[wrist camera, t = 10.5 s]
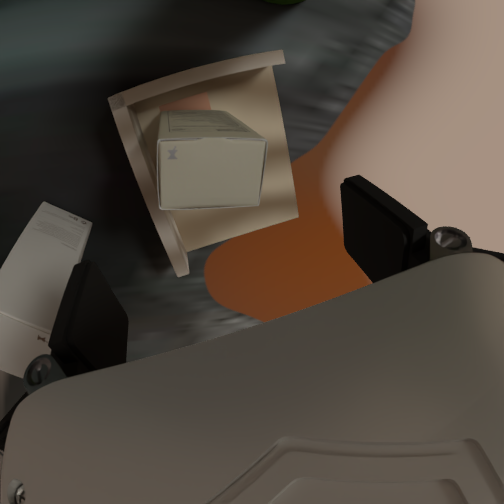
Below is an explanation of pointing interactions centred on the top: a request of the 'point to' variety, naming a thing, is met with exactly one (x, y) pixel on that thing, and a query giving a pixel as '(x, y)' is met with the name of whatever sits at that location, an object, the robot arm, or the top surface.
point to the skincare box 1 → (37, 284)
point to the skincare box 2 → (208, 161)
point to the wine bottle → (284, 1)
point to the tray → (209, 98)
